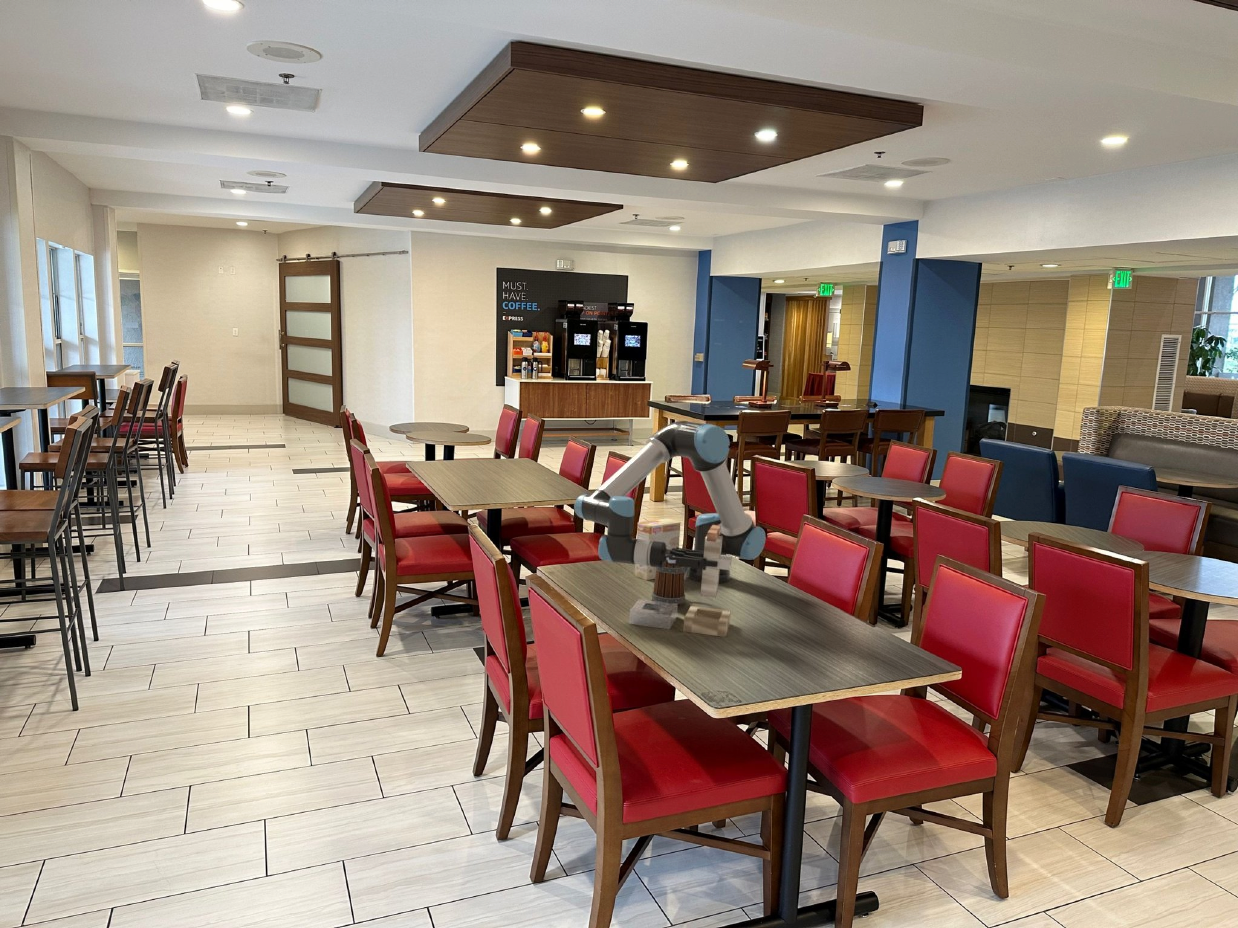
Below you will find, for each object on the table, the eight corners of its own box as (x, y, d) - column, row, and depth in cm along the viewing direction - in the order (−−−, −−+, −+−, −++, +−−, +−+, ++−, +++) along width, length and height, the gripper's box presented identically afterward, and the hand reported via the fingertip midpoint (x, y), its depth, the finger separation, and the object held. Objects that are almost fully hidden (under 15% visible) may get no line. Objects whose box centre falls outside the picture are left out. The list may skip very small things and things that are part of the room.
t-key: (704, 587, 248) (709, 524, 245) (719, 589, 247) (724, 525, 244) (698, 598, 236) (703, 532, 234) (714, 600, 235) (719, 533, 233)
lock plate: (638, 611, 254) (638, 598, 253) (676, 616, 251) (677, 604, 251) (629, 623, 242) (630, 610, 242) (669, 629, 240) (670, 615, 239)
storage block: (689, 618, 250) (690, 605, 250) (729, 623, 248) (730, 610, 247) (683, 631, 239) (684, 617, 238) (725, 636, 236) (726, 623, 235)
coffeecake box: (664, 570, 304) (668, 518, 301) (677, 575, 298) (681, 521, 295) (633, 575, 294) (636, 521, 291) (646, 580, 289) (650, 525, 286)
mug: (672, 610, 257) (676, 563, 255) (644, 602, 264) (647, 556, 261) (699, 600, 270) (702, 555, 268) (672, 592, 276) (675, 548, 274)
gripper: (655, 559, 253) (732, 568, 248) (643, 573, 236) (726, 583, 231) (657, 535, 252) (734, 543, 247) (645, 547, 235) (728, 557, 230)
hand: (730, 562), depth 239 cm, fingers closed on t-key, 4 cm apart
